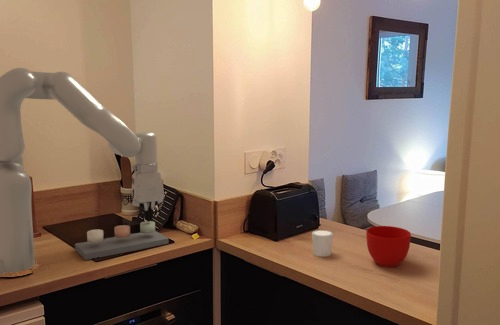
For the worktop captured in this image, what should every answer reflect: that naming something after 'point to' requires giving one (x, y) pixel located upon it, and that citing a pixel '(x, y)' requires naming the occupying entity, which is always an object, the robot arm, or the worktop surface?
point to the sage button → (147, 227)
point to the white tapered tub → (322, 242)
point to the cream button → (95, 236)
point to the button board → (120, 245)
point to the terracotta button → (122, 231)
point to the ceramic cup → (388, 244)
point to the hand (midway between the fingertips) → (148, 220)
